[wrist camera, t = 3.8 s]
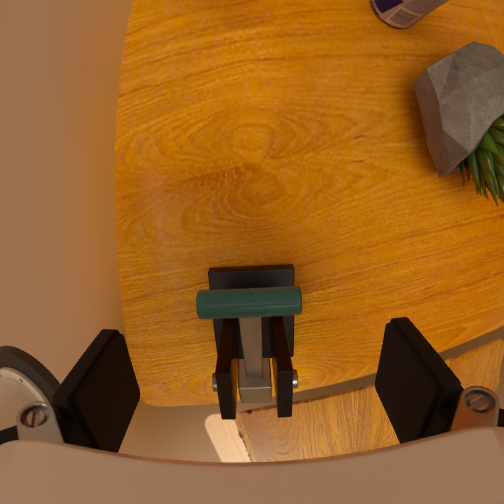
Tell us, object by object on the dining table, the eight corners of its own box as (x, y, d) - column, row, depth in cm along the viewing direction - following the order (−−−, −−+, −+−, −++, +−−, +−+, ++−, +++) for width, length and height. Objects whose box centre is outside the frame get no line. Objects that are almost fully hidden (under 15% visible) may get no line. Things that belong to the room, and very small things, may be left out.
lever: (198, 277, 16) (194, 315, 14) (297, 272, 16) (304, 310, 14) (222, 376, 23) (222, 404, 22) (287, 373, 23) (290, 401, 22)
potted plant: (490, 48, 21) (557, 173, 20) (408, 98, 30) (469, 214, 30) (487, 11, 13) (584, 192, 12) (371, 85, 22) (457, 248, 22)
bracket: (209, 267, 31) (185, 337, 18) (292, 263, 31) (319, 332, 18) (218, 354, 34) (206, 442, 21) (292, 350, 33) (310, 438, 21)
